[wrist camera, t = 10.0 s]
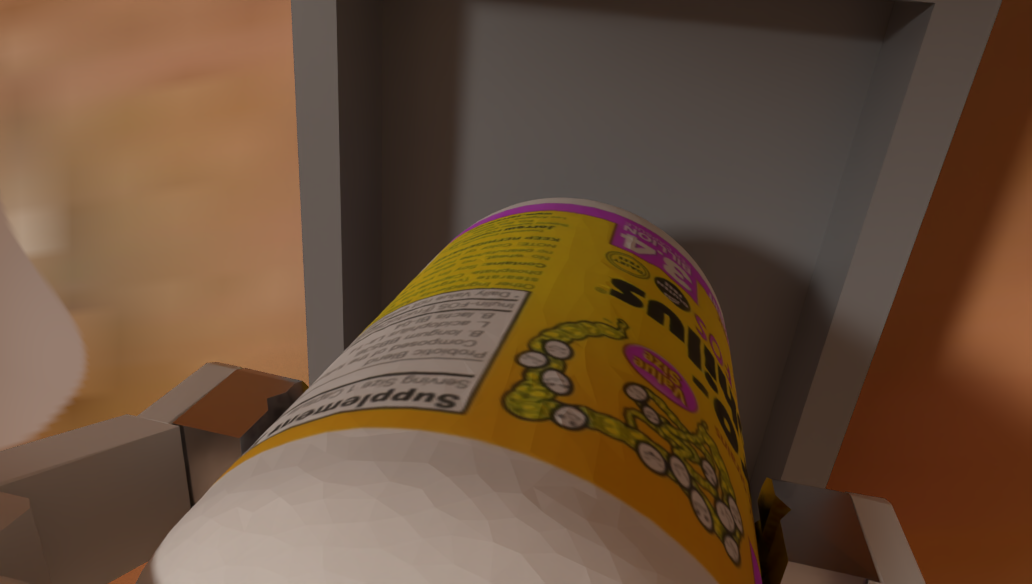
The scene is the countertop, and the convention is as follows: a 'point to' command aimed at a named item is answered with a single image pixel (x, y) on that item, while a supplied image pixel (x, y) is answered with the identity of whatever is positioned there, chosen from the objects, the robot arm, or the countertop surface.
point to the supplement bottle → (503, 428)
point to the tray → (645, 163)
